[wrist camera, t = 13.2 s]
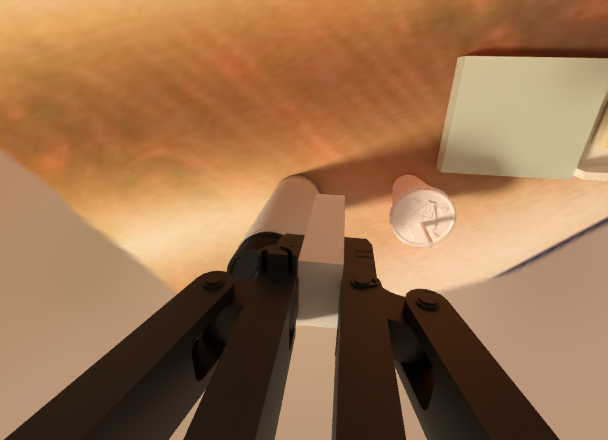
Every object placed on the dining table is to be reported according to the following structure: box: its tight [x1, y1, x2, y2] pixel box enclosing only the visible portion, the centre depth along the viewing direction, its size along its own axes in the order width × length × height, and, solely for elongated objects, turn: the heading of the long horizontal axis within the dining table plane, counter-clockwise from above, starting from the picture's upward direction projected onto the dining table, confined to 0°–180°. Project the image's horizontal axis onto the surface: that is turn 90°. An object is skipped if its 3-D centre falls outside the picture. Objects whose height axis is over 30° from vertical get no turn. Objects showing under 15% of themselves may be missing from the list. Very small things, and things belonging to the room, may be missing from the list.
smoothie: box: [389, 175, 456, 248], centre depth 34 cm, size 6×6×14 cm
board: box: [436, 56, 608, 180], centre depth 34 cm, size 12×14×2 cm
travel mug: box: [227, 175, 320, 282], centre depth 33 cm, size 6×7×20 cm
